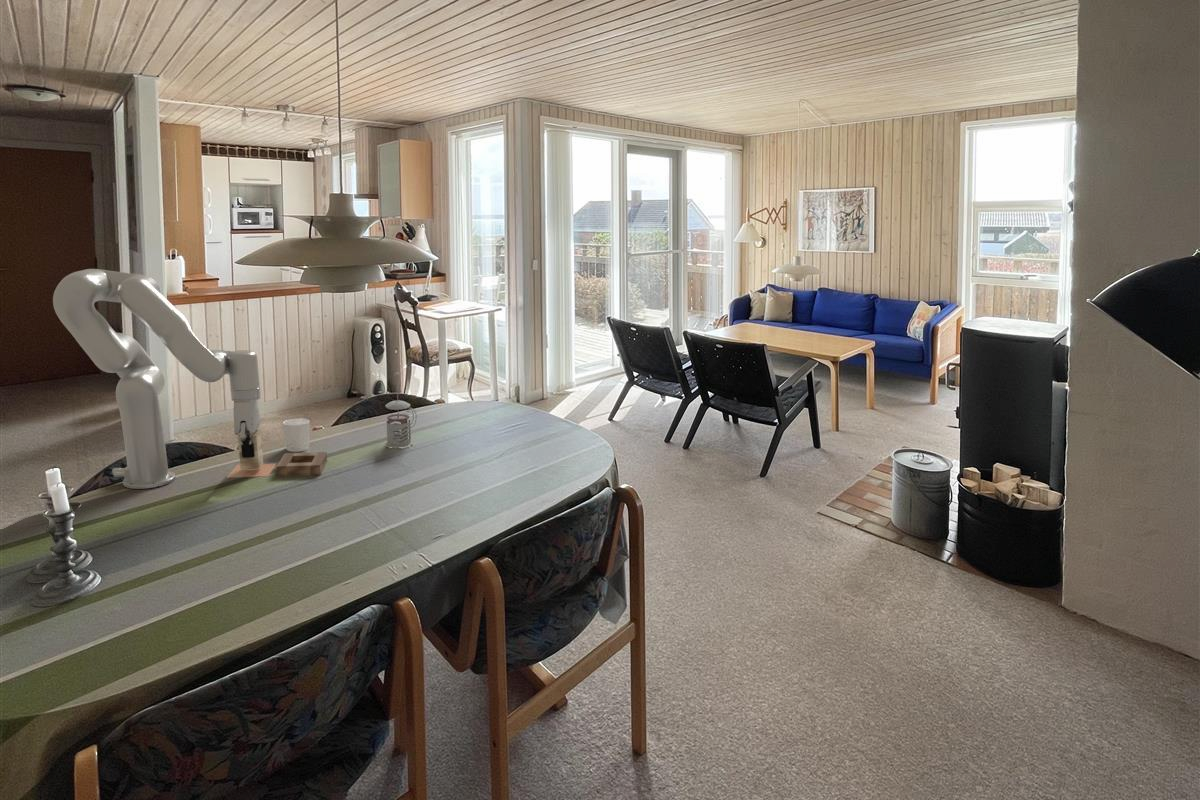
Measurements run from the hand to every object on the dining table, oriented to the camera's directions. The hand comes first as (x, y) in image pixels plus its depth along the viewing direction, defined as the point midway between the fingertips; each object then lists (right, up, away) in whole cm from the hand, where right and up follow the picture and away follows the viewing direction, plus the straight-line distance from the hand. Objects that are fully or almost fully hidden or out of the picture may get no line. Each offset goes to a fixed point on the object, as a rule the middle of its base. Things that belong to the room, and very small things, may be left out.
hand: (251, 453), depth 211 cm
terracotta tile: (0, -6, +1) cm, 6 cm away
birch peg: (0, -4, +1) cm, 4 cm away
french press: (+35, +1, +34) cm, 48 cm away
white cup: (+4, -1, +22) cm, 23 cm away
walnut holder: (+13, -6, +4) cm, 15 cm away
